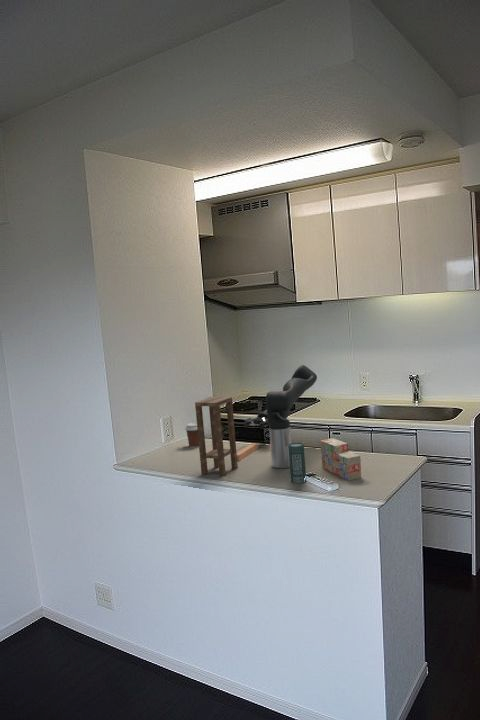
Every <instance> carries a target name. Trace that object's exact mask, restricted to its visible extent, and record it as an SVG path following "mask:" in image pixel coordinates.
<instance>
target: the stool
mask: <svg viewBox="0 0 480 720" xmlns="http://www.w3.org/2000/svg"><path fill="white" fill-rule="evenodd" d="M194 404H195V405H194V407H195V416H196V423H197V430H198V441H199V447H198V449H199V450H198V451H199V461H200V462H199V463H200V469H201V470H200V471H201V476H202V475H203V476H206V474H207V475H208V473H209V472H208V460H207V459H213V467H214V468H216V469H218V475H219V477H222V476H224V477H225V476H227V474H226V473H227V471H226V462H225V457H227V456H229V455H230V465H231V469H234V470H237V469H238V468H239V467H238V461H237V444H236V431H235V428H236V427H235V420H234V418H235V417H234V416H235V415H234V407H233V406H234V405H233V396H209V397H206V398H204V399H201V400H199V401H196V402H194ZM224 404H225V405H226V416H227V428H228V429H227V431H228V439H229V440H228V441H229V448H224V440H223V428H222V427H223V426H222V418H221V417H222V416H221V415H222V414H221V405H224ZM203 407H208V409H209V410H208V412H209V421H210V422H209V424H210V433H211V434H210V435H211V443H212V450H210V451H208V452H207V450H206V448H207V447H206V436H205V427H204V426H205V425H204V417H203Z"/></svg>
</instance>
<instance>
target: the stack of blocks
mask: <svg viewBox="0 0 480 720" xmlns="http://www.w3.org/2000/svg"><path fill="white" fill-rule="evenodd" d="M320 453H321V466H322V468H323V469H324V470H326V471H329V472H330V473H331V474H335V476H338V477H341V478H343V479H344V480H347V481H351V480H358V479H361V478H362V472H361V471H362V468H361V467H362V465H361V455H360V454H357V453H355V452H354V451H353V452H352V451H350V450H349V445H348V443H347V442H344V441H342V440H339V439H336V438H334V437H332V438H327V439H326V438H325V439H322V440H320Z"/></svg>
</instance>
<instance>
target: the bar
mask: <svg viewBox="0 0 480 720" xmlns="http://www.w3.org/2000/svg"><path fill="white" fill-rule="evenodd" d="M256 449H257V450H258V449H259V445H258V443H255V442H253V443H250V444H249V445H247V446H246V447H244V448H242V449H241V450H239V451H238V452H237V451H236V452H237V462H239V461H242V460H243V459H245V458H247V457H248V456H249V455H250V454H252V453H254V452H256V451H257V450H256Z"/></svg>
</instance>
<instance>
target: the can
mask: <svg viewBox="0 0 480 720" xmlns="http://www.w3.org/2000/svg"><path fill="white" fill-rule="evenodd" d="M288 448H289V461H290V468H289V474H290V482H291V483H292V484H303V482H304V478H305V476H306V477H307V469H306V468H307V467H306V458H305V457H306V456H305V443H303V442H291V444H289V445H288ZM304 483H305V482H304Z"/></svg>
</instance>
